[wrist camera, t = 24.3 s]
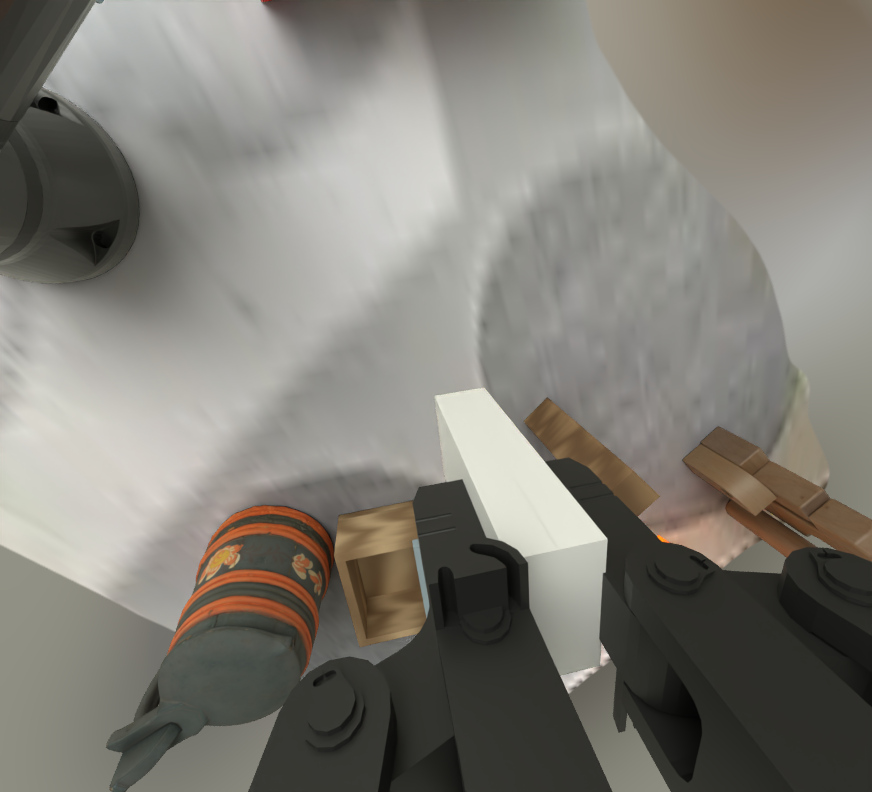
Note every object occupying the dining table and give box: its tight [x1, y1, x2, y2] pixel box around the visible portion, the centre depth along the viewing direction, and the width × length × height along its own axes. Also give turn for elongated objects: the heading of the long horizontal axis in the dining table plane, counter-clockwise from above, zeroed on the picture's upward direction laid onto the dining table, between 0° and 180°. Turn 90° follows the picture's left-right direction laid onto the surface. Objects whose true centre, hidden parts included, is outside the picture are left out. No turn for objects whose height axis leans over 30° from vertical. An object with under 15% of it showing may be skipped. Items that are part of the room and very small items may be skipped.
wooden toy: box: [683, 427, 872, 562], centre depth 45 cm, size 15×7×25 cm, turn 46°
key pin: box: [524, 398, 660, 516], centre depth 41 cm, size 4×4×17 cm
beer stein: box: [106, 505, 334, 792], centre depth 41 cm, size 19×15×20 cm
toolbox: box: [334, 501, 426, 647], centre depth 50 cm, size 18×14×7 cm
